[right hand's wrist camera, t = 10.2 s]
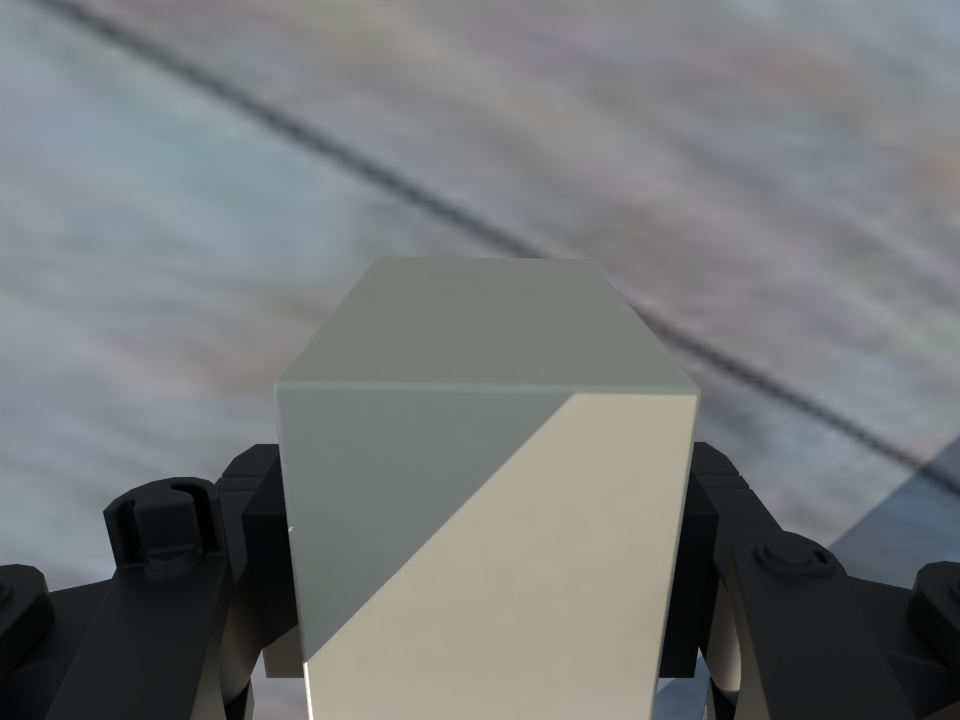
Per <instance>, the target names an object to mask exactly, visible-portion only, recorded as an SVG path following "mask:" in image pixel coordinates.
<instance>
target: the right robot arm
mask: <svg viewBox="0 0 960 720" xmlns="http://www.w3.org/2000/svg"><path fill="white" fill-rule="evenodd" d="M103 514H104V518H105V522H106V526H107V530H108V534H109V538H110V542H111V546H112V550H113V554H114V558H115V562H116V566H117V569H116V571H115V573H114V575H113V577H112V579H109V580H105V581H101V582H98V583H93V584H88V585H83V586H78V587H73V588H69V589H64V590H59V591H54V592H49V591H48V587H47V584H46V581H45V577H44V574H42V573H41V572H40V571H39V570H38V569H37V568H35V567H33V566H27V565H21V564H12V565H3V566H0V720H252V717H253V709H254V698H253V690H252V684H251V678H250V676H251V674H252V671H253V669H254V666H255V664H256V662H257V659H258V657H259V655H260V652H261V650H262V651H263V657H264V664H265V670H266V676H267V678H304V669H303V660H302V650H301V641H300V632H299V623H298V614H297V605H296V596H295V587H294V578H293V568H292V559H291V550H290V541H289V532H288V523H287V514H286V505H285V496H284V486H283V477H282V468H281V459H280V450H279V444H256V445H254V446H252V447H251V448H249V449H248V450H246V451H245V452H243V453H242V454H240V455H238V456H237V457H235V458H234V459H233V461H232V462H231V463H230V465H229V466H228V467H227V469H226V470H225V471H224V473H223V474H222V478H219V479H218V480H217V482H216V483H215V484H213V483H211V482H210V481H209V480H205V479H200V478H196V477H173V478H168V479H163V480H158V481H153V482H150V483H147V484H145V485H142V486H139V487H137V488H134V489H131V490H130V491H128V492H126V493H125V494H123V495H121V496H120V497H118V498H116V499H115V500H113V502H112V503H111V504H110V505H109V506H108V507H107V508H106V509H105V510H104V511H103ZM698 648H700V650H701V653H702V655H703V657H704V660H705V662H706V664H707V667H708V669H709V671H710V678H709V684H708V690H707V696H706V701H705V707H704V713H703V719H702V720H960V563H956V562H947V561H942V562H936V563H930V564H926V565H925V566H924V567H923V568H922V569H920V570H919V571H918V573H917V576H916V579H915V583H914V586H913V589H912V590H910V589H906V588H901V587H896V586H891V585H886V584H881V583H876V582H871V581H867V580H862V579H858V578H855V577H851V576H847V574H846V572H845V570H844V568H843V566H842V565H841V564H840V562H839V561H838V560H837V558H836V557H835V556H834V555H833V554H832V553H831V552H830V551H828V550H827V549H825V548H824V547H822V546H821V545H820V544H818V543H817V542H815V541H812V540H810V539H808V538H805V537H803V536H801V535H798V534H796V533H792V532H787V531H783V530H782V529H781V527H780V526H779V525H778V523H777V522H776V521H775V519H774V518H773V517H772V515H771V514H770V513H769V511H768V510H767V509H766V507H765V506H764V505H763V503H762V502H761V501H760V500H759V498H758V497H757V496H756V494H755V493H754V492H753V490H752V489H749V485H748V484H747V482H746V481H745V480H744V478H743V477H742V476H739V472H738V471H737V469H736V468H735V467H734V465H733V464H732V463H731V461H730V460H729V459H728V457H727V456H726V455H724V454H723V453H721V452H719V451H718V450H716V449H715V448H713V447H712V446H710V445H708V444H707V443H705V442H694V447H693V454H692V460H691V467H690V473H689V480H688V487H687V493H686V500H685V506H684V513H683V520H682V526H681V533H680V539H679V546H678V552H677V559H676V566H675V572H674V579H673V585H672V592H671V599H670V605H669V612H668V618H667V625H666V632H665V638H664V645H663V651H662V658H661V665H660V671H659V678H694V673H695V667H696V660H697V654H698Z"/></svg>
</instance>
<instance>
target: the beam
mask: <svg viewBox="0 0 960 720" xmlns="http://www.w3.org/2000/svg"><path fill="white" fill-rule="evenodd" d="M701 394H702V393H701V389H700V387H699V386H698V385H697V383H696V382H695V381H694V380H693V379H692V378H691V376H690V375H689V374H688V373H687V372H686V371H685V370H684V368H683V367H682V366H681V365H680V364H679V363H678V361H677V360H676V359H675V358H674V357H673V356H672V354H671V353H670V352H669V351H668V350H667V349H666V348H665V346H664V345H663V344H662V343H661V342H660V341H659V339H658V338H657V337H656V336H655V335H654V334H653V332H652V331H651V330H650V329H649V328H648V327H647V326H646V324H645V323H644V322H643V321H642V320H641V319H640V317H639V316H638V315H637V314H636V313H635V312H634V310H633V309H632V308H631V307H630V306H629V305H628V304H627V302H626V301H625V300H624V299H623V298H622V297H621V295H620V294H619V293H618V292H617V291H616V290H615V288H614V287H613V286H612V285H611V284H610V283H609V282H608V280H607V279H606V278H605V277H604V276H603V275H602V273H601V272H600V271H599V270H598V269H597V268H596V266H595V265H594V264H593V263H592V262H591V261H590V260H588V259H528V258H463V257H397V256H380V257H377V258H376V260H375V261H374V262H373V263H372V264H371V266H370V267H369V268H368V269H367V270H366V272H365V273H364V274H363V275H362V277H361V278H360V279H359V280H358V281H357V283H356V284H355V285H354V286H353V287H352V289H351V290H350V291H349V292H348V293H347V295H346V296H345V297H344V298H343V299H342V301H341V302H340V303H339V304H338V305H337V307H336V308H335V309H334V310H333V312H332V313H331V314H330V315H329V316H328V318H327V319H326V320H325V321H324V322H323V324H322V325H321V326H320V327H319V328H318V330H317V331H316V332H315V333H314V334H313V336H312V337H311V338H310V339H309V340H308V342H307V343H306V344H305V345H304V346H303V348H302V349H301V350H300V351H299V353H298V354H297V355H296V356H295V357H294V359H293V360H292V361H291V362H290V363H289V365H288V366H287V367H286V368H285V369H284V371H283V372H282V373H281V374H280V375H279V377H278V378H277V379H276V380H275V382H274V385H273V395H274V404H275V414H276V423H277V432H278V441H279V450H280V459H281V468H282V477H283V486H284V496H285V505H286V514H287V523H288V532H289V541H290V550H291V559H292V568H293V578H294V587H295V596H296V605H297V614H298V623H299V632H300V641H301V650H302V660H303V669H304V678H305V687H306V696H307V705H308V714H309V720H652V717H653V711H654V704H655V697H656V691H657V684H658V678H659V671H660V665H661V658H662V651H663V645H664V638H665V632H666V625H667V618H668V612H669V605H670V599H671V592H672V585H673V579H674V572H675V566H676V559H677V552H678V546H679V539H680V533H681V526H682V520H683V513H684V506H685V500H686V493H687V487H688V480H689V473H690V467H691V460H692V454H693V447H694V440H695V434H696V427H697V421H698V414H699V407H700V401H701Z"/></svg>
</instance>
